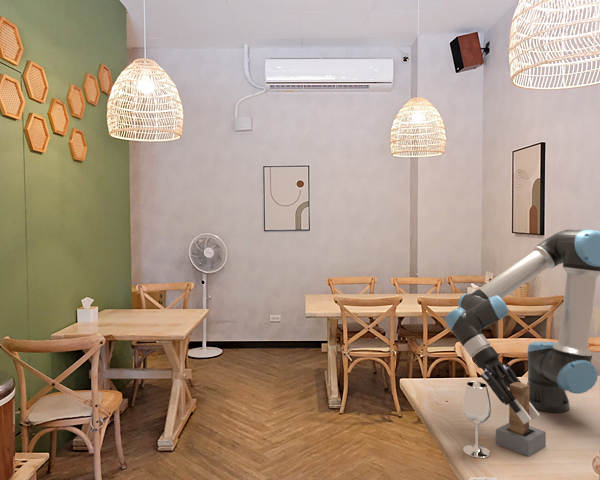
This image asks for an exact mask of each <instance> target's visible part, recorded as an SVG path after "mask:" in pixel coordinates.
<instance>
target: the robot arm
mask: <svg viewBox="0 0 600 480" xmlns="http://www.w3.org/2000/svg"><path fill="white" fill-rule="evenodd" d="M532 250H533V251H531V252H530V253H529V254H527V255H526V256H524V257H523V258H521V259H519V260H518V261H517V262H515V263H514V264H512V265H511V266H510V267H508V268H507V269H505V270H504V271H502V272H501V273H500V274H498V275H497V276H495V277H494V278H492V279H491V280H489V281H488V282H486V283H485V284H484V285H482V286H481V287H479V288H478V289H475V290H474V291H473V292H472V293H464V294H462V295H461V296H459V298H458V301H457V306H458V307H457V308H455V309H453V310H452V311H450V312H449V313H447V314H446V316H445V319H444V322H445V323H446V325H447V326H448V328H449V329H450V332H452V334H453V336H455V337H456V339H457V340H458V341H459V343H460V344H461V346H462V347H463V348H464V350H465V351H466V353H467V354H468V355H469V357H470V358H472V361H473V363H474V364H475V365H476V367H477V368H479V369H482V370H483V373H481V374H480V378H481V379H482V380H483V381H485V383H487V384H486V385H487V386H489V388H490V389H491V390H492V392H493V394H495V395H496V398H498V399H499V401H500V403H502V404H504V405H505V406H507V405H508V406H509V405H510V406H511V408H512V409H513V410H514V412H515V413H516V414H517V415H518V417H519V418H520V419H521V421H522V422H523V423H524V424H525V423H527V422H528V421H529V422H530V421H533V420H535V419H537V418H538V417H540V416H541V414H540V413H539V412H538V411H541V412H546V413H547V412H548V413H564V412H567V411H569V409H570V400H569V397H568V395H567V392H569V393H572V394H576V395H577V394H584V393H586V392H588V391H590V390H591V389H593V388H594V386H595V385H596V383H597V382H598V378H599V377H598V375H599V374H598V370H597V368H596V367H595V365H594V364H593V363H592V359H593V358H592V357H593V353H592V352H591V351H590V349H589V348H588V346H589V339H590V333H591V332H590V331H591V324H592V316H593V308H594V301H595V292H596V285H597V284H596V283H597V278H598V276H600V231H598V230H594V229H593V230H592V229H564V230H561V231H558V232H555V233H554V234H552V235H551V236H549V237H547V238H546V239H544V240H543V241H541V242H540V243H538V244H536V245H535V246H534V247H533V249H532ZM561 264H562V268H563V270H564V271H565V272H566V278H565V279H566V280H565V287H564V295H563V303H562V311H561V317H560V318H561V319H560V325H559V334H558V341H556V342H555V341H531V342H530V343H529V344H528V346H527V383H526V385H529V415H528V413H527V412H526V411H525V409H524V408H523V407H522V405H521V404H520V403H519V401H518V400H517V399H515V400H514V397H513V396H512V394H511V392H510V384H512V383H515V382H519V383H522V381H520V379H519V378H518V376H517V375H516V373H515V372H514V370H512V368H511V366H510V364H509V363H506V364H503V363H502V362H501V361H500V360H499V359H498V358H499V353H498V352H497V351H496V349H495V348H494V347H493V346H491V343H490V342H489V340H488V339H487V338H486V336H485V335H484V334H483V333H482V330H484V329H486V328H487V327H490V326H491V325H493V324H495V323H497V322H499V321H501V320H502V319H503V318H505V317H506V316H507V315H509V307H508V305H507V304H506V301H504V300H503V299H505V297H507V296H509V295H510V294H511V293H512V292H513V293H514V292H515V291H516V290H518V289H519V288H521V287H522V286H524V285H525V284H526V283H527V282H529V281H531V280H532V279H533V278H535V277H537V276H538V275H540V274H541V273H542V272H544V271H546V270H547V269H550V270H551V269H554V268H555V267H557V266H559V265H561Z"/></svg>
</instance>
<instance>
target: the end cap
mask: <svg viewBox="0 0 600 480" xmlns="http://www.w3.org/2000/svg"><path fill="white" fill-rule="evenodd" d="M546 433H547V432H546V431H545V430H542V429H540V428H537V427H534V426H531V425H529V432H527V433H525V434H523V435H521V434H518V433H515V432H513V431H510V430H509V422H507V423H505V424H503V425H502V426H500V427H497V428H496V429H495V444H496V445H498V446H500V447H503V448H506V449H509V450H510V451H513V452H516V453H519V454H521V455H524V456H526V457H530V456H532V455H534V454H536V453H537V452H539V451H540V450H542V449H544V448H545V447H546V443H547V442H546V441H547V440H546V439H547V438H546V436H547V434H546Z"/></svg>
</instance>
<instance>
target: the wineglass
mask: <svg viewBox="0 0 600 480" xmlns="http://www.w3.org/2000/svg"><path fill="white" fill-rule="evenodd" d="M490 398H491V397H490V393H489V388H488V384H486V383H484V382H480V381H475V380H474V381H468V382H466V386H465V390H464V394H463V400H462V411H463V414H464V416H465V418H466V419H467V420H469V422H471V423H473V424H474V429H475V432H474V433H475V435H474V437H475V443H474V444H467V445H465V446H463V448H462V451H463V453H465V454H466V455H467V456H470V457H472V458H477V459H485V458H488V457H490V456H491V454H492V452H491V451H490V449H488V448H486V447H484V446H482V445H479V426H480V425H481V424H483V423H486V421H488V420H489V418H490V417H491V414H492V405H491V399H490Z"/></svg>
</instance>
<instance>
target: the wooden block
mask: <svg viewBox="0 0 600 480" xmlns="http://www.w3.org/2000/svg"><path fill="white" fill-rule="evenodd" d="M509 391H510V392H511V394H512V396H513V397H514V400H515V399H517V400H518V401H519V403H520V404H521V405H522V407H523V408H524V409H525V411H526V412H527V413H528V415H529V385H527V383H526V384H525V383H523V382H521V383H519V382H515V383H512V384H510V389H509ZM508 407H509V409H508V410H509V411H508V412H509V416H508V423H509V430H510V431H513V432H515V433H518V434H521V435H523V434H525V433H527V432H529V426H530V421H528V422H527V423H525V424H524V423H523V422H522V421H521V419H520V418H519V417H518V415H517V414H516V413H515V412H514V410H513V409H512V408H511V406H510V405H509V404H508Z"/></svg>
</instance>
